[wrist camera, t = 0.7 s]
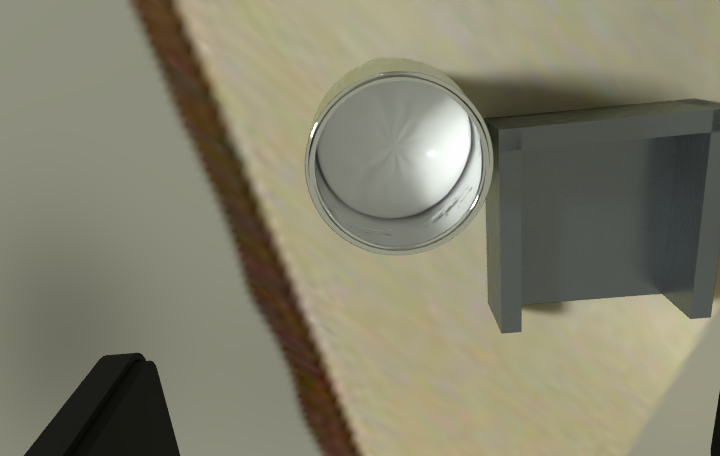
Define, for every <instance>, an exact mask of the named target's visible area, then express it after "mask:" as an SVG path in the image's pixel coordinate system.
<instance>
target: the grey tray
mask: <svg viewBox="0 0 720 456" xmlns="http://www.w3.org/2000/svg"><path fill="white" fill-rule="evenodd" d="M484 122H485V124H486V126H487V129H488V131H489V134H490V138H491V142H492V147H493V159H494V163H493V175H492V180H491V185H490V188H489V191H488V194H487V196H486V230H487V274H488V304H489V306H490V308H491V311H492V313H493V315H494V317H495V320H496V322H497V324H498V327H499V329H500V331H501V333H513V332H521V305H524V304H536V303H549V302H562V301H574V300H587V299H600V298H612V297H625V296H637V295H650V294H663V295H664V296H665V297H666V298H667V299H669V300H670V301H671V302H672V303H673V304H674V305H675V306H676V307H677V308H679V309H680V310H681V311H682V312H683V313H684V314H685V315H686V316H687V317H689V318H690V319H695V318H708V317H711V311H712V303H713V295H714V287H715V280H716V272H717V264H718V256H719V248H720V104H719V103H714V102H709V101H704V100H699V99H686V100H675V101H665V102H654V103H644V104H633V105H623V106H612V107H602V108H591V109H581V110H570V111H560V112H549V113H539V114H528V115H518V116H507V117H496V118H486V119H484Z"/></svg>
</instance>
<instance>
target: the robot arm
mask: <svg viewBox="0 0 720 456" xmlns="http://www.w3.org/2000/svg"><path fill="white" fill-rule="evenodd" d="M24 456H180V454H179V449H178V446H177V442H176V438H175V435H174V431H173V427H172V423H171V419H170V416H169V412H168V408H167V405H166V401H165V397H164V393H163V390H162V386H161V382H160V378H159V375H158V371H157V368H156V365H155V364H154V362H152V361H146V359H145V358H144V357H143V355H142V354H140V353H130V354H117V355H106V356H103V357H102V358H101V359H100V360H99V361H98V362H97V363H96V365H95V366H94V367H93V369H92V370H91V371H90V373H89V374H88V375H87V376H86V378H85V379H84V380H83V381H82V382H81V384H80V385H79V386H78V388H77V389H76V390H75V392H74V393H73V394H72V395H71V397H70V398H69V399H68V400H67V402H66V403H65V404H64V405H63V407H62V408H61V409H60V410H59V412H58V413H57V414H56V416H55V417H54V418H53V419H52V421H51V422H50V423H49V424H48V426H47V427H46V429H45V430H44V431H43V432H42V433H41V435H40V436H39V437H38V439H37V440H36V441H35V442H34V443H33V445H32V446H31V447H30V449H29V450H28V451H27V452H26V454H25V455H24ZM711 456H720V393H719V399H718V406H717V412H716V419H715V425H714V432H713V438H712V444H711Z"/></svg>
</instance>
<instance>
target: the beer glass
mask: <svg viewBox="0 0 720 456" xmlns="http://www.w3.org/2000/svg"><path fill="white" fill-rule="evenodd" d="M493 163H494V159H493V147H492V142H491V138H490V134H489V131H488V129H487V126H486V124H485V122H484V120H483V118H482V116H481V114H480V113H479V111H478V110H477V108H476V107H475V106H474V105H473V103H472V102H471V101H470V100H469V98H468V97H467V95H466V94H465V93H464V92H463V90H462V89H461V88H460V87H459V86H458V85H457V84H456V83H455V82H454V81H452V80H451V79H450V78H449V77H448V76H447V75H445V74H444V73H442V72H441V71H439V70H438V69H436V68H434V67H432V66H430V65H428V64H425V63H422V62H419V61H415V60H411V59H405V58H380V59H375V60H371V61H369V62H366V63H364V64H362V65H360V66H358V67H356V68H354V69H353V70H351V71H350V72H348V73H347V74H345V75H344V76H343V77H342V78H340V79H339V80H338V81H337V82H336V83H335V84H334V85H333V86H332V87H331V88H330V90H329V91H328V92H327V93H326V95H325V96H324V98H323V99H322V101H321V103H320V105H319V107H318V109H317V111H316V114H315V116H314V119H313V122H312V125H311V128H310V133H309V139H308V143H307V147H306V153H305V176H306V182H307V187H308V190H309V193H310V196H311V199H312V201H313V203H314V205H315V207H316V209H317V211H318V212H319V214H320V216H321V217H322V218H323V220H324V221H325V222H326V223H327V224H328V226H329V227H330V228H331V229H332V230H333V231H334V232H336V233H337V234H338V235H339V236H340V237H342V238H343V239H345V240H346V241H348V242H349V243H351V244H353V245H355V246H357V247H359V248H361V249H364V250H367V251H370V252H374V253H378V254H384V255H411V254H417V253H421V252H425V251H428V250H431V249H434V248H436V247H438V246H440V245H442V244H444V243H446V242H447V241H449V240H451V239H452V238H454V237H455V236H456V235H458V234H459V233H460V232H461V231H462V230H463V229H464V228H465V227H467V225H468V224H469V223H470V222H471V221H472V220H473V219H474V217H475V216H476V215H477V213H478V212H479V210H480V208H481V207H482V205H483V203H484V201H485V199H486V196H487V194H488V191H489V188H490V185H491V180H492V175H493Z"/></svg>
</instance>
